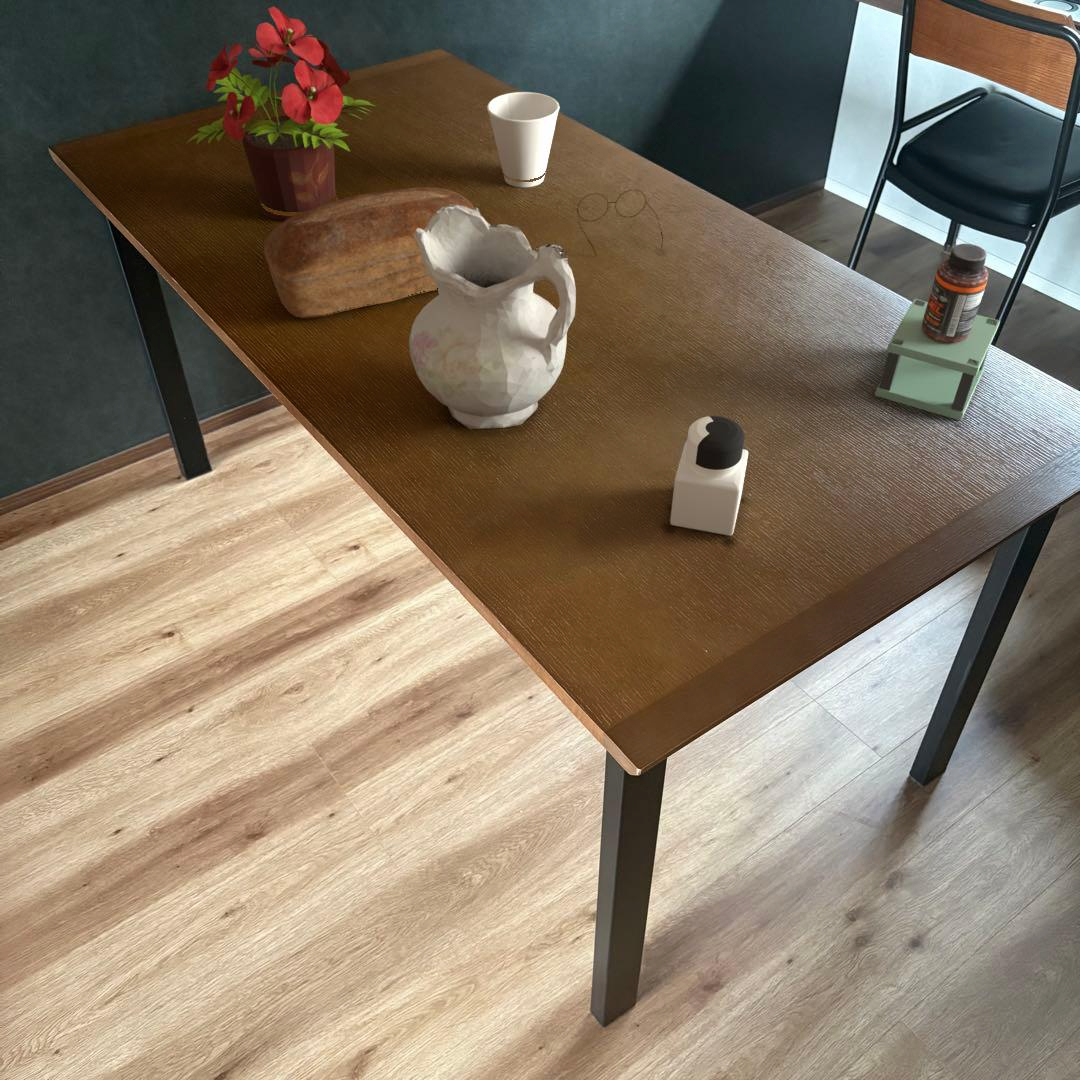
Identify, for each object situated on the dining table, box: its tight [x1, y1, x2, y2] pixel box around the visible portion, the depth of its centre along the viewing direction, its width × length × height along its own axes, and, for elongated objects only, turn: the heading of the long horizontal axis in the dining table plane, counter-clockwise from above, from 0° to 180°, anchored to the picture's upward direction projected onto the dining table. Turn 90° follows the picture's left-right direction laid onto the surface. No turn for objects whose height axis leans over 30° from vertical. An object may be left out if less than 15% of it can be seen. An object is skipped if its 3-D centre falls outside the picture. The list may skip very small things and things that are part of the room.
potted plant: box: [186, 6, 378, 222], centre depth 169 cm, size 30×27×30 cm
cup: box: [486, 91, 561, 188], centre depth 180 cm, size 12×12×12 cm
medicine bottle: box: [669, 415, 749, 537], centre depth 120 cm, size 7×7×12 cm
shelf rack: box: [874, 298, 1001, 421], centre depth 138 cm, size 11×12×8 cm
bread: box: [263, 186, 476, 320], centre depth 154 cm, size 12×31×14 cm, turn 114°
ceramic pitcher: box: [408, 204, 577, 430], centre depth 130 cm, size 22×20×25 cm
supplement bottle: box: [922, 243, 989, 343], centre depth 132 cm, size 6×6×11 cm
